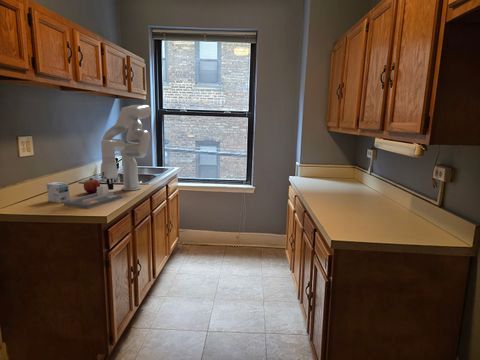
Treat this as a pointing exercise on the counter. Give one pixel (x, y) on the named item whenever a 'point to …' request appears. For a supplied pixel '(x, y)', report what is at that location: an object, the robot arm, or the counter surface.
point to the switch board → (92, 200)
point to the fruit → (91, 185)
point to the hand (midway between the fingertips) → (110, 189)
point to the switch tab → (102, 190)
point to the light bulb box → (58, 192)
